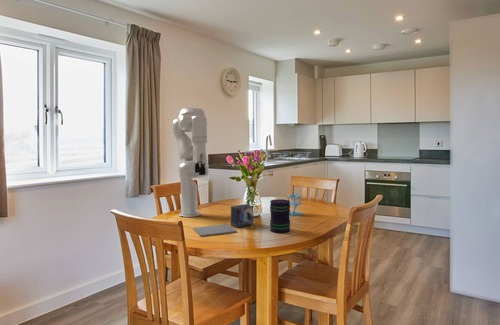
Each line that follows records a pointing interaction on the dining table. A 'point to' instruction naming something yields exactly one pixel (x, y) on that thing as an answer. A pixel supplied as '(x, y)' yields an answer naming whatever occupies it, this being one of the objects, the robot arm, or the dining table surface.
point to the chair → (295, 204)
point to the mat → (214, 230)
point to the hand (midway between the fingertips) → (200, 173)
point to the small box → (241, 215)
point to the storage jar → (280, 216)
